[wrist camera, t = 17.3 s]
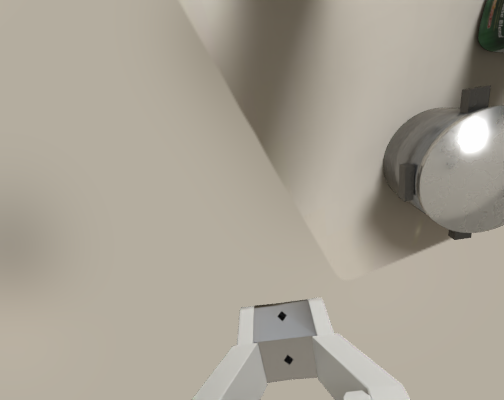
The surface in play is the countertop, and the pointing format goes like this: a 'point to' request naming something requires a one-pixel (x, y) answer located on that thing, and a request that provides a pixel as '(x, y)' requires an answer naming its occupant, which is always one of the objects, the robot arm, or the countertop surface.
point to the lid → (466, 173)
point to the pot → (425, 145)
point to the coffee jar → (492, 26)
